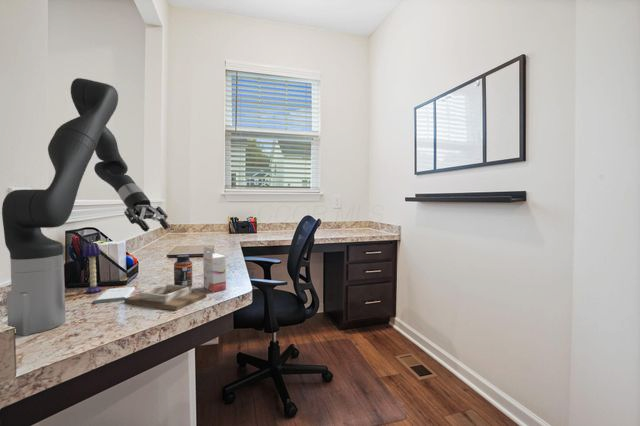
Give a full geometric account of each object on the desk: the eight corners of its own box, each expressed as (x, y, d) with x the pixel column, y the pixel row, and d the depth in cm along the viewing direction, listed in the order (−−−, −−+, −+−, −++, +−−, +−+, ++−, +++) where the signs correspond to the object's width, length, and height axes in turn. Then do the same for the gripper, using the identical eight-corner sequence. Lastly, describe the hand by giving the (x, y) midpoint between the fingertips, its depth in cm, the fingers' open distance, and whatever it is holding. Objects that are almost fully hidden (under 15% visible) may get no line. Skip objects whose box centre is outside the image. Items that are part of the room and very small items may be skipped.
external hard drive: (93, 305, 87) (107, 293, 99) (125, 302, 90) (135, 290, 102) (93, 300, 87) (107, 288, 99) (125, 296, 90) (135, 286, 102)
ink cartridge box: (226, 289, 101) (226, 247, 100) (212, 292, 97) (212, 248, 97) (216, 284, 107) (216, 244, 107) (203, 287, 104) (202, 246, 103)
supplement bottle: (189, 288, 102) (189, 256, 101) (171, 289, 101) (171, 257, 100) (194, 284, 108) (193, 253, 107) (177, 284, 107) (176, 254, 106)
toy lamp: (101, 293, 97) (99, 243, 97) (83, 295, 95) (81, 244, 94) (101, 289, 101) (100, 241, 101) (84, 291, 99) (83, 242, 98)
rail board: (176, 310, 81) (176, 299, 81) (124, 302, 88) (124, 292, 88) (206, 297, 92) (206, 287, 92) (158, 291, 99) (158, 281, 99)
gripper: (120, 190, 103) (145, 223, 100) (155, 191, 116) (178, 220, 113) (110, 205, 105) (134, 238, 102) (145, 204, 118) (168, 233, 115)
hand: (157, 228), depth 107 cm, fingers open, 8 cm apart
